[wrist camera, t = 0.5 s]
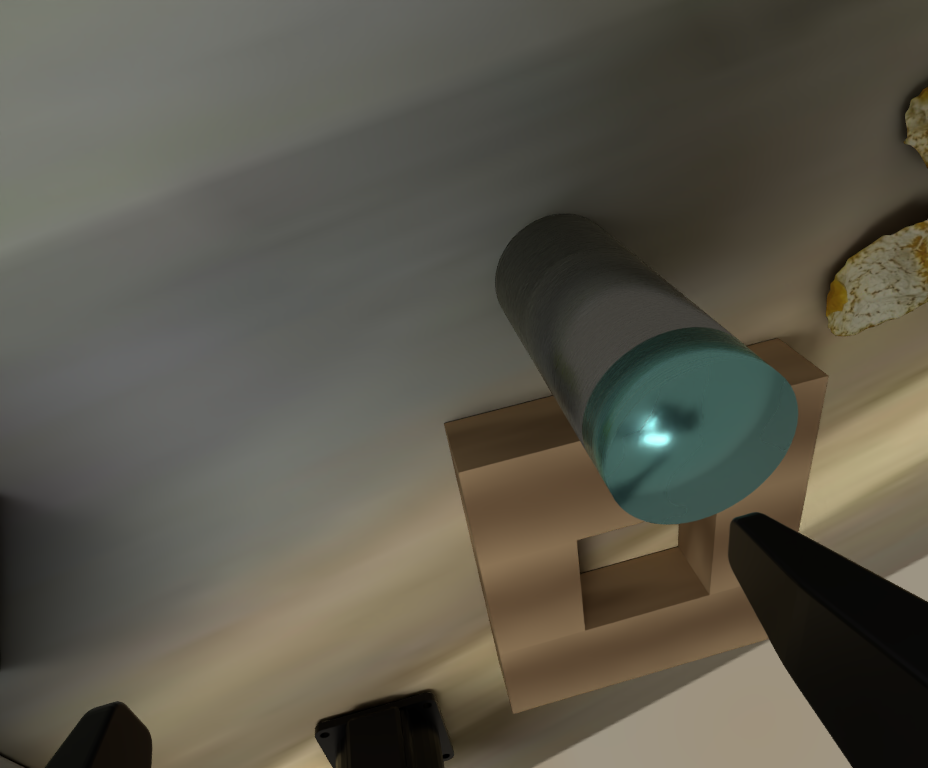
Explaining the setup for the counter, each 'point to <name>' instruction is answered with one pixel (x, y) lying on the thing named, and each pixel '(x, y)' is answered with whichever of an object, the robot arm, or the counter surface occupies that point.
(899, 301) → the fruit
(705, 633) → the dock
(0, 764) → the coffee box
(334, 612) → the counter surface
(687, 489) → the grey and teal cylinder
